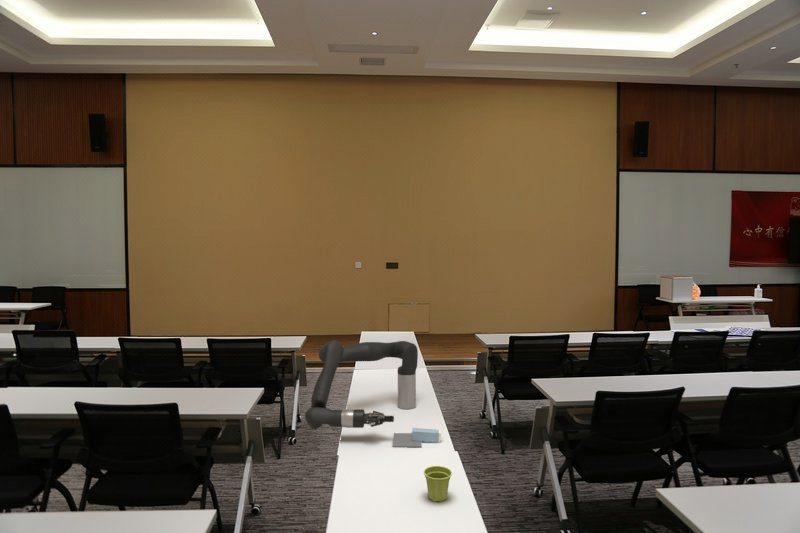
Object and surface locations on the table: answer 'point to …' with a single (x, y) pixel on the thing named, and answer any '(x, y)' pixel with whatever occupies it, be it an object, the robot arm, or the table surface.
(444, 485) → the plant pot
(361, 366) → the table surface
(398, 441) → the mat
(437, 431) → the blue block
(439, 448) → the table surface
